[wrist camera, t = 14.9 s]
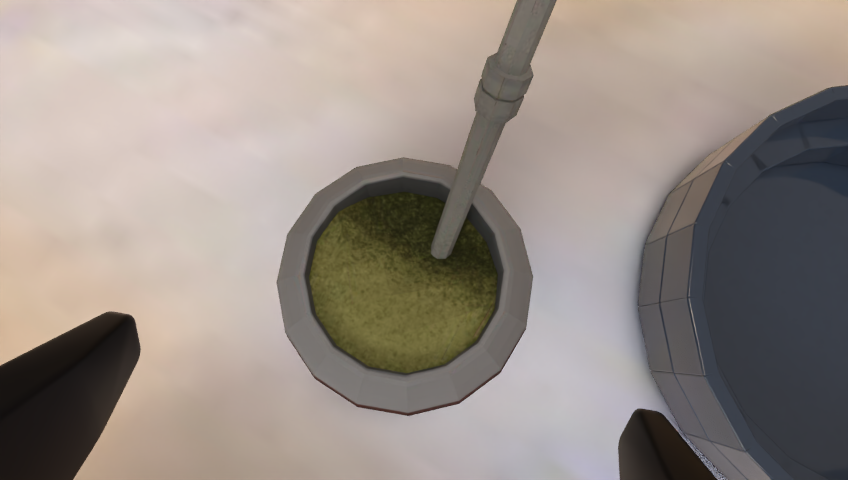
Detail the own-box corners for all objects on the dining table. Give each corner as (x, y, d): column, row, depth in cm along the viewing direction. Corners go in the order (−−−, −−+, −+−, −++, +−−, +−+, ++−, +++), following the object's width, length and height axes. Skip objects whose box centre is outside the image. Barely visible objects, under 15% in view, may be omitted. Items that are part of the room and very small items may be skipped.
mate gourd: (334, 416, 20) (119, 601, 5) (295, 210, 22) (43, -85, 7) (532, 369, 21) (830, 423, 6) (481, 171, 22) (618, -186, 7)
